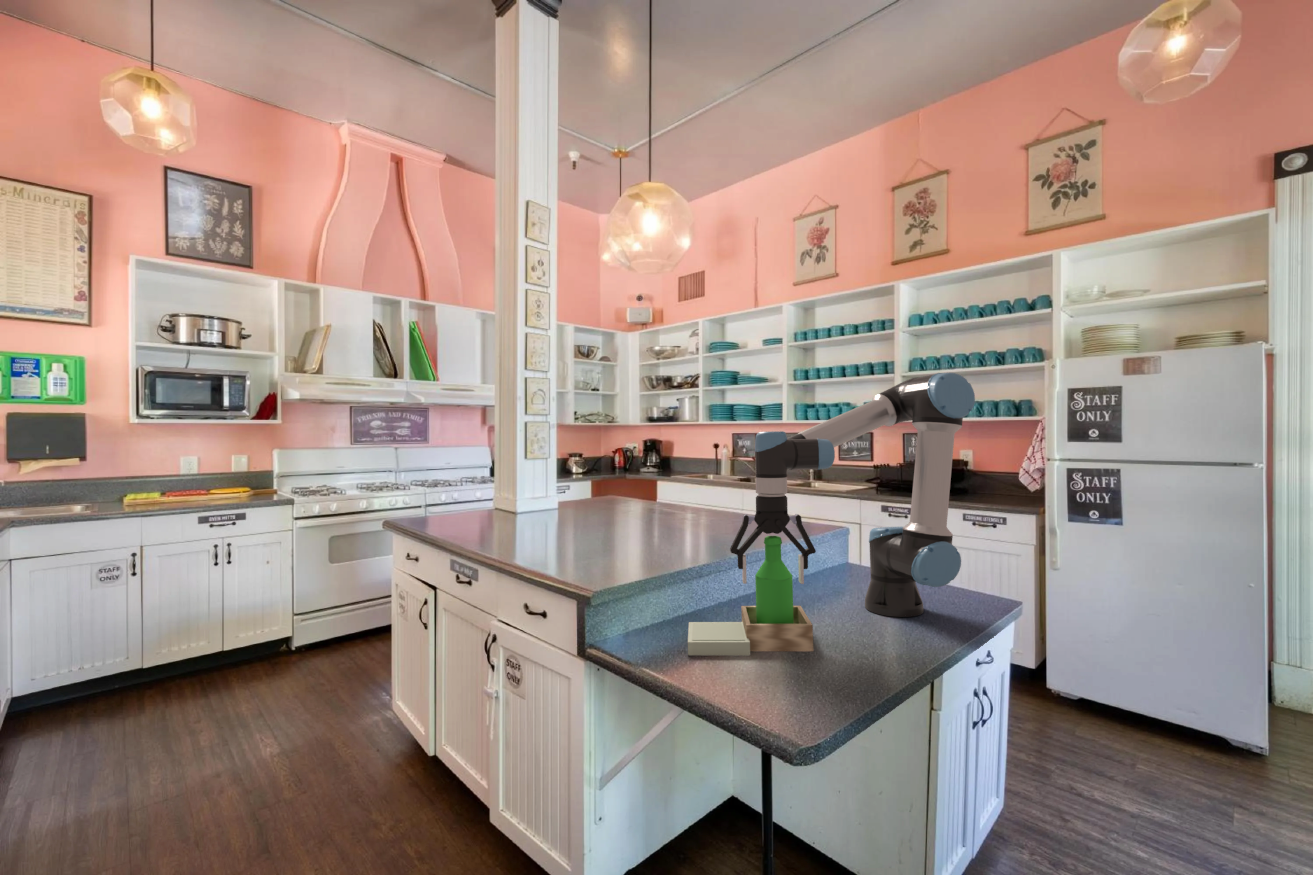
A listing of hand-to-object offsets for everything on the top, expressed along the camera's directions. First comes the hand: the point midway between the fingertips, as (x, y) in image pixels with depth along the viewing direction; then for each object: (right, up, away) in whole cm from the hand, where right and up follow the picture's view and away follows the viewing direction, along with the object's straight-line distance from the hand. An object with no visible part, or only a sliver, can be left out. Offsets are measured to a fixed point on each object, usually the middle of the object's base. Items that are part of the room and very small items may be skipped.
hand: (772, 582), depth 135 cm
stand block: (-14, -14, -2) cm, 20 cm away
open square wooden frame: (+1, -14, 0) cm, 14 cm away
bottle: (+1, -14, 0) cm, 14 cm away
